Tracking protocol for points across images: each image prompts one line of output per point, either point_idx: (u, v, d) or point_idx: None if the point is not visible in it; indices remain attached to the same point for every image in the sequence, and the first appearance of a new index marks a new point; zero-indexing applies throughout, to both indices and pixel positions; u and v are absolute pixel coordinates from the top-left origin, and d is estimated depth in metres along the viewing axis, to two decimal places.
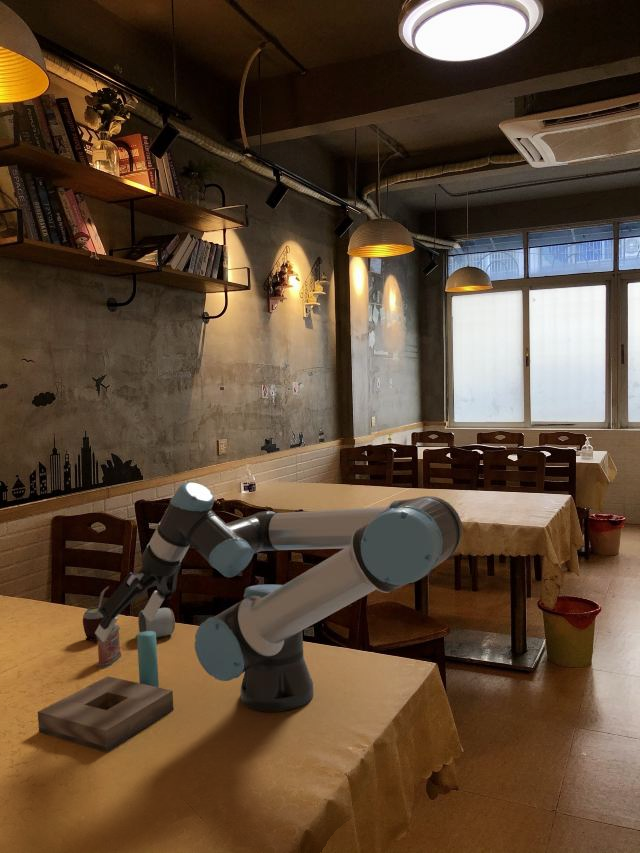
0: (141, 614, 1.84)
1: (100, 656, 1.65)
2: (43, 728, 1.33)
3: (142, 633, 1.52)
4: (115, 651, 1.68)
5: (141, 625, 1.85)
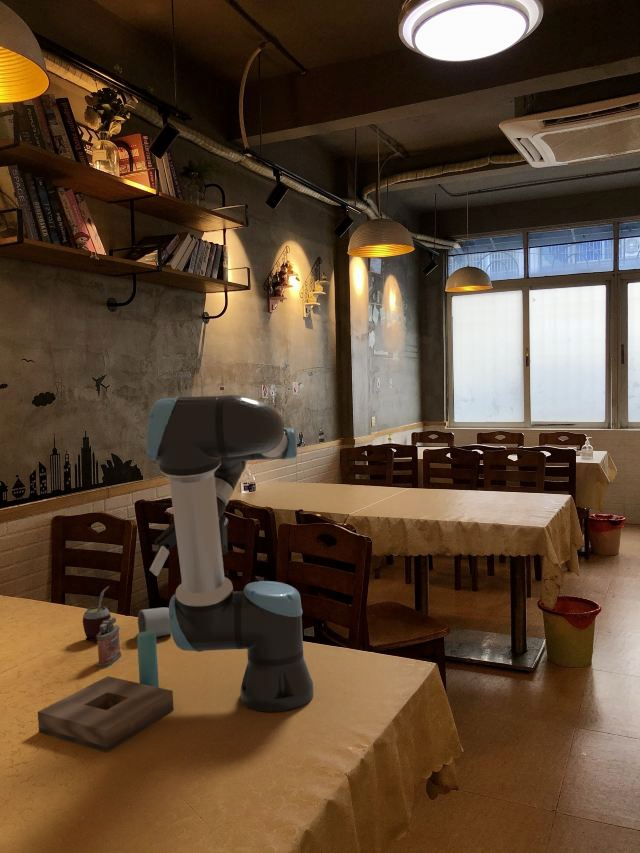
0: (141, 614, 1.85)
1: (100, 656, 1.65)
2: (43, 728, 1.33)
3: (142, 633, 1.52)
4: (115, 651, 1.68)
5: (141, 625, 1.86)
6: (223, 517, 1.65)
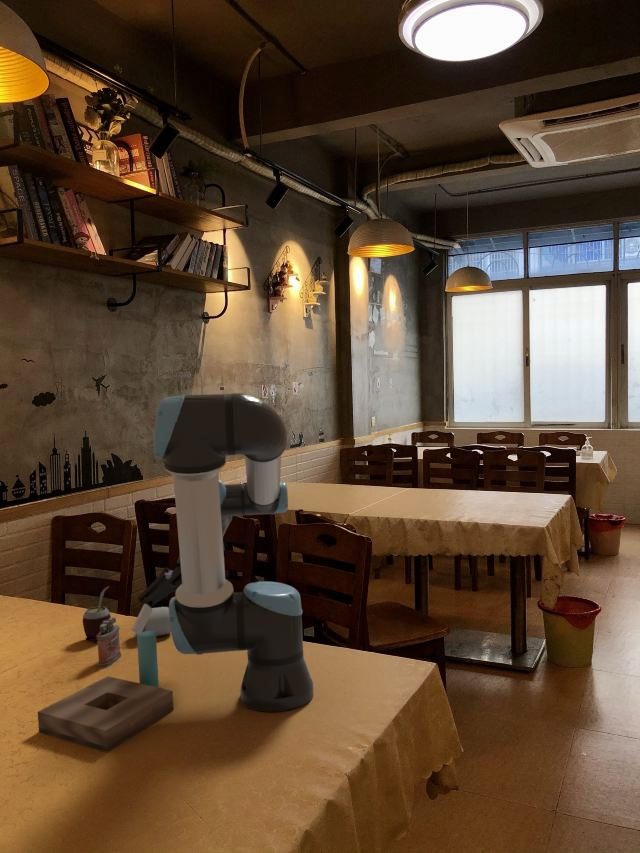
0: None
1: (100, 656, 1.65)
2: (43, 728, 1.33)
3: (142, 633, 1.52)
4: (115, 651, 1.68)
5: None
6: None
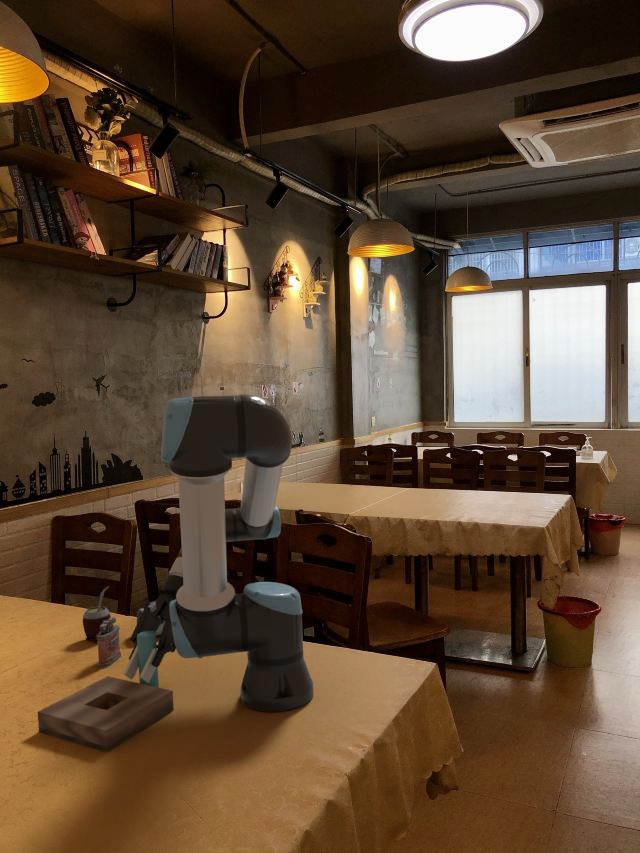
0: (139, 612, 1.86)
1: (100, 656, 1.65)
2: (43, 728, 1.33)
3: (142, 633, 1.52)
4: (115, 651, 1.68)
5: None
6: None
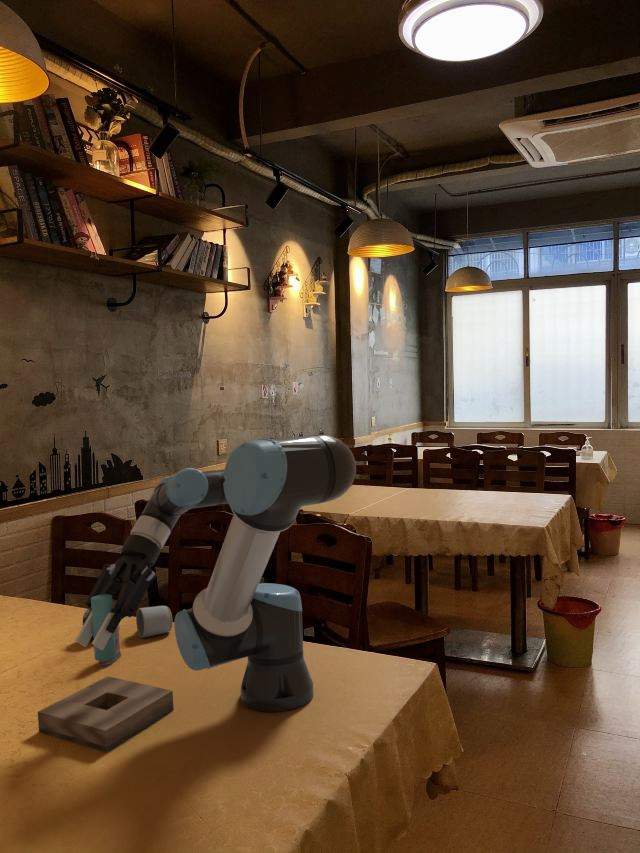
0: (139, 612, 1.86)
1: None
2: (43, 728, 1.33)
3: (97, 596, 1.38)
4: None
5: (139, 623, 1.87)
6: (148, 572, 1.40)
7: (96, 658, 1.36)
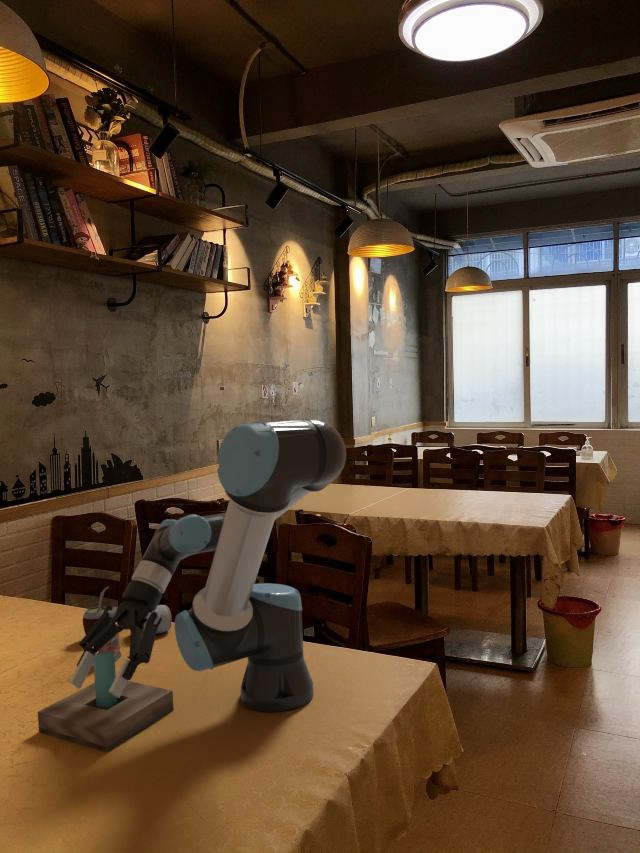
0: None
1: None
2: (43, 728, 1.33)
3: (99, 654, 1.38)
4: (115, 651, 1.68)
5: None
6: (154, 615, 1.39)
7: None
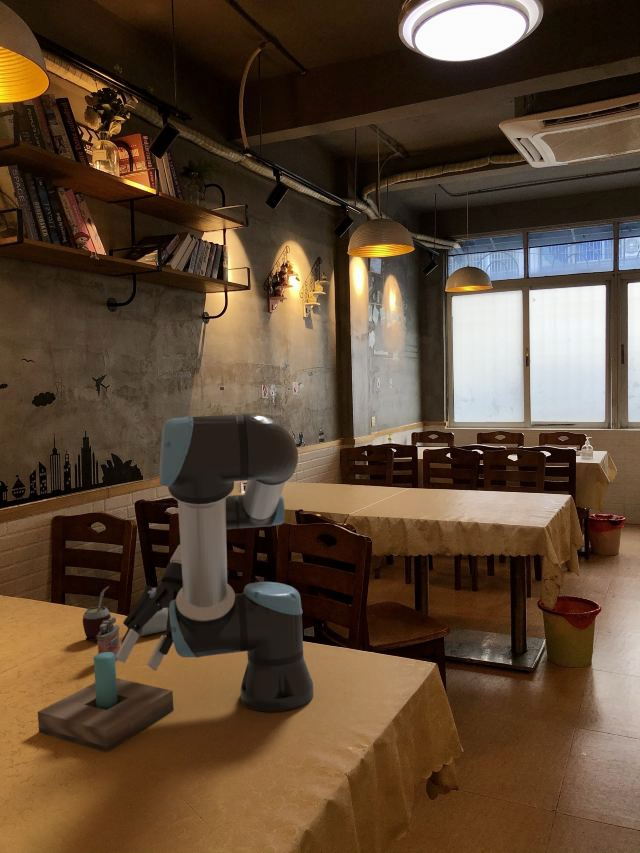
0: None
1: None
2: (43, 728, 1.33)
3: (100, 655, 1.37)
4: (115, 651, 1.68)
5: None
6: None
7: None
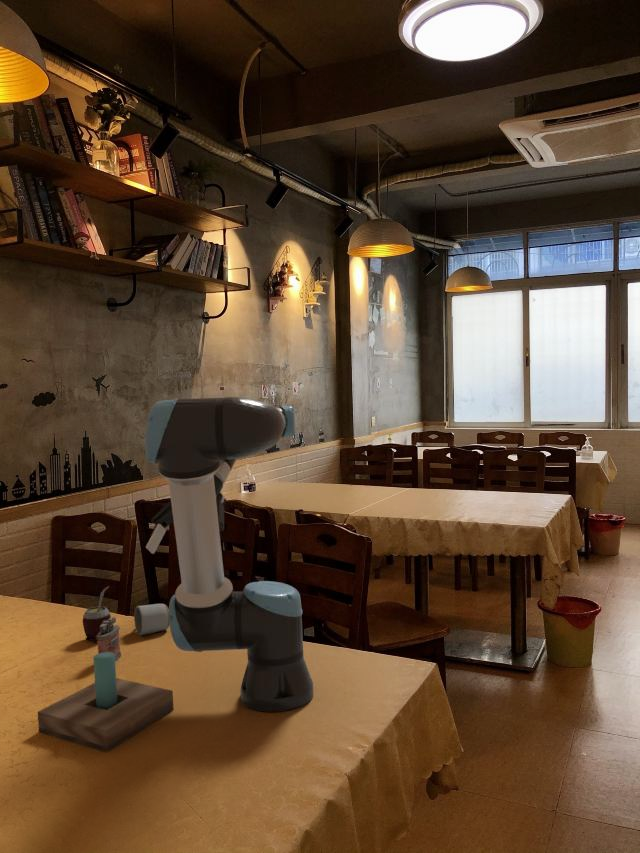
0: (137, 610, 1.88)
1: None
2: (43, 728, 1.33)
3: (99, 655, 1.37)
4: (115, 651, 1.68)
5: (137, 620, 1.89)
6: (220, 495, 1.64)
7: None
